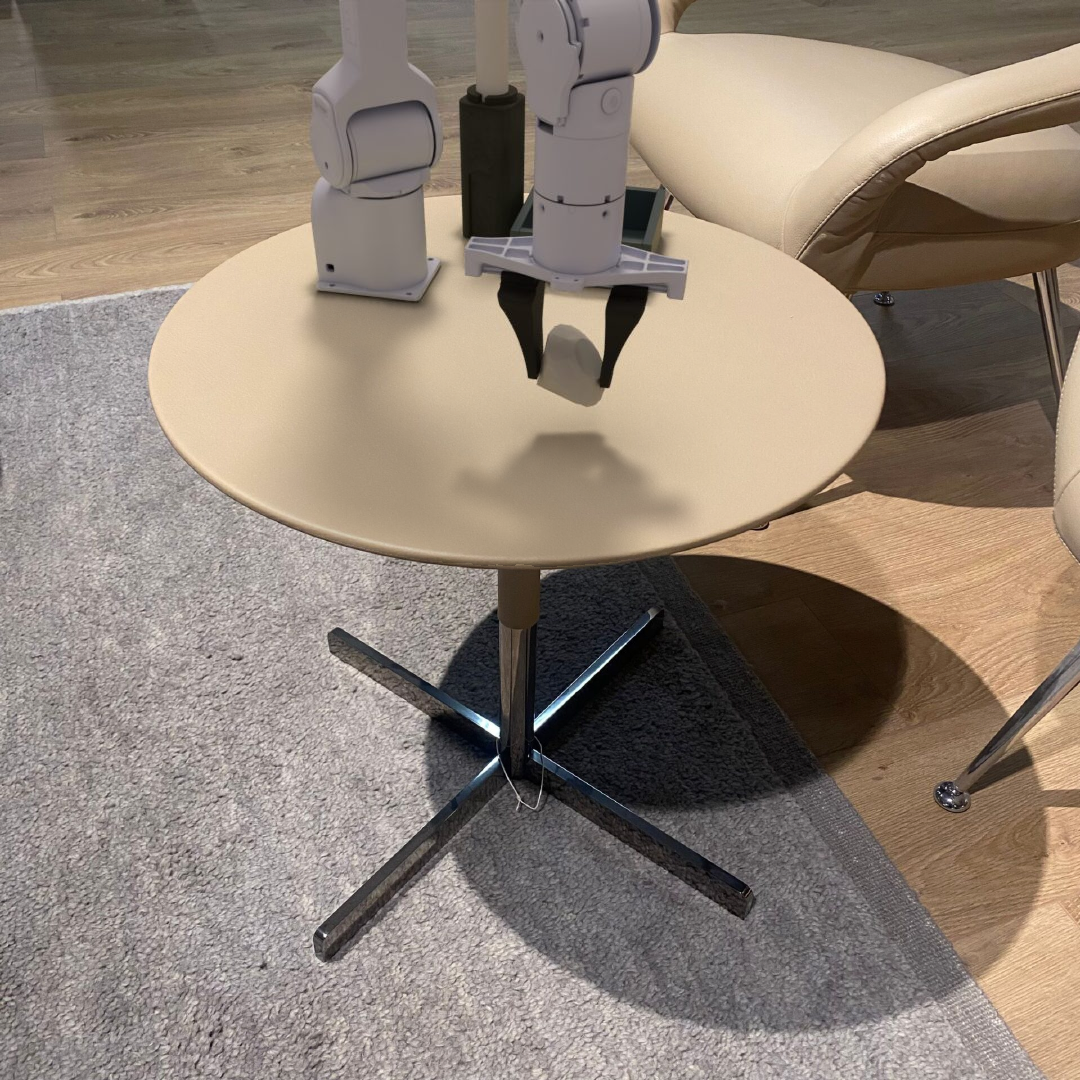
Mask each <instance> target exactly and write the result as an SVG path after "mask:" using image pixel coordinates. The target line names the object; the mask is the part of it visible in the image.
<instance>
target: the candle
mask: <svg viewBox="0 0 1080 1080" xmlns="http://www.w3.org/2000/svg"><path fill="white" fill-rule="evenodd" d="M509 11H510V0H474V45H475V46H474V47H475V51H474V52H475V53H474V54H475V83H473V84H471V85H469V86H468V87H467V88H466V94H465V95H463V96H462V97H461V98H459V100H458V114H459V115H458V117H459V118H458V119H459V150H460V151H459V152H460V153H459V154H460V185H461V187H460V189H461V220H462V221H461V223H462V227H461V228H462V236H463V237H464V238H465V239H468V240H470V238H471V237H482V238H505V237H510V230H511V228H512V226H513V224H514V222H515V220H516V218H517V216H518V215H519V213H520V211H521V209H522V207H523V205H524V203H525V158H526V157H525V156H526V155H525V150H526V149H525V148H526V146H525V143H526V95H525V94H523V93H521V92H519V91H518V88H517V87H516V86H514V85H513V84H512V85H511V84H510V83H509V75H510V74H509V67H510V66H509V64H510V63H509V62H510V61H509V59H510V58H509V55H510V54H509V52H510V50H509V47H510V46H509V45H510V43H509V41H510V40H509V39H510V38H509V37H510V36H509V35H510V30H509V28H510V27H509V26H510V23H509V21H510V17H509V16H510V13H509Z"/></svg>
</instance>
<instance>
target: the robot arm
mask: <svg viewBox="0 0 1080 1080" xmlns="http://www.w3.org/2000/svg"><path fill="white" fill-rule="evenodd" d="M513 1H514V3H515V5H516V7H517V9H518V11H519V16H518V20H516V21H515V22H514V26H515V27H514V31H515V32H514V33H515V41H516V47H517V51H518V56H519V59H520V63H521V65H522V68H523V71H524V74H525V82H526V84H525V86H526V89H525V90H526V91H525V92H526V95H525V101H527V103H528V109H529V112H530V113H531V114H533V115H534V157H533V160H534V162H533V163H534V164H533V167H534V168H533V185H534V196H533V236H527V237H505V238H482V237H471V238H470V239H468V242H467V244H466V245H465V247H464V250H463V251H464V253H463V255H464V276H466V277H472V278H480V277H482V276H483V274H488V275H496V276H500V282H499V288H498V290H497V293H496V297H497V303H498V306H499V308H500V309H501V310H502V312H503V314H504V315H505V317H506V318H507V320H508V322H509V324H510V325H511V328H512V330H513V332H514V334H515V336H516V338H517V341H518V344H519V346H520V350H521V353H522V356H523V359H524V364H525V369H526V375H527V379H529V380H530V379H531V380H536V381H538V376H539V373H540V367H541V363H542V358H543V354H544V350H545V348H544V324H543V322H544V321H543V320H544V319H543V318H544V306H545V305H544V303H545V293H546V292H545V291H546V283H549V286H550V288H551V289H552V290H554V291H559V292H568V293H581V292H582V291H583V290H584V288H585V287H589V286H603V287H612V289H610V293H609V295H608V298H607V302H606V305H605V311H604V345H603V346H604V347H603V348H604V349H603V356H602V367H601V373H600V388H605V389H610V388H611V384H612V381H613V377H614V371H615V367H616V364H617V361H618V359H619V357H620V354H621V352H622V350H623V349H624V346H625V345H626V343H627V341H628V339H629V338H630V336H631V334H632V333H633V332H634V330H635V328H636V327H637V325H638V324H639V323H640V321H641V319H642V318H643V315H644V313H645V310H646V307H647V303H648V297H649V294H650V293H655V294H656V293H657V294H666V298H667V299H669V300H676V301H683V300H684V299H685V292H686V287H687V279H688V271H689V265H690V264H689V263H690V260H689V259H685V258H678V257H671V256H667V255H663V254H659V253H657V254H655V253H652V252H648V251H644V250H641V249H637V248H633V247H630V246H626V245H623V244H621V240H622V227H623V215H624V203H625V190H626V186H627V177H628V164H629V151H630V139H631V127H632V118H633V117H632V115H633V104H634V90H635V81H636V80H635V79H636V77H635V75H639V74H641V73H644V71H646V70H647V69H648V68H649V67H650V65H651V64H652V62H653V61H654V59H655V57H656V56H657V52H658V49H659V46H660V41H661V33H662V17H661V10H660V3H659V0H513ZM338 6H339V18H340V19H339V20H340V30H341V32H340V33H341V43H342V44H341V46H342V56H341V58H339V60H338V61H337V62H336V63H335V64H334V65H333V66H332V67H330V69H329V70H328V71H327V72H326V73H325V74H324V75H322V76H321V77H320V78H319V79H318V80H317V82H315V84H314V85H313V86H312V88H311V92H312V96H311V104H312V105H311V108H312V109H311V120H310V124H309V142H310V147H311V152H312V155H313V159H314V162H315V164H316V167H317V169H318V171H319V172H320V175H321V176H320V177H319V179H318V180H317V181H316V183H315V185H314V188H313V191H312V195H311V203H310V221H311V222H310V223H311V230H312V237H313V246H314V254H315V261H316V271H317V277H318V281H317V282H316V284H315V288H316V290H317V291H321V292H330V293H331V292H332V293H337V294H349V295H356V296H366V297H374V298H381V299H383V298H384V299H390V300H400V301H410V302H418V301H420V300H421V299H422V297H423V295H424V293H425V292H426V290H427V288H428V287H429V285H430V283H431V282H432V280H433V279H434V276H435V275H436V274H437V272H438V270H439V268H440V267H441V265H442V259H441V258H440V257H431V256H428V249H427V248H428V247H427V230H426V229H427V228H426V213H425V212H426V211H425V209H426V208H425V193H424V191H425V190H424V184H425V183H428V182H431V178H432V177H431V170H433V169H434V168H436V167H437V166H438V164H439V163H440V160H441V157H442V154H443V151H444V141H445V140H444V130H443V124H442V120H441V117H440V115H439V109H438V102H437V101H438V100H437V93H436V86H435V84H434V83H433V82H432V80H431V79H430V78H429V77H428V76H427V75H426V73H424V72H423V71H422V70H420V69H419V68H418V67H416V66H415V65H414V64H412V63H411V62H409V50H408V24H407V23H408V22H407V0H338ZM546 281H547V282H546Z"/></svg>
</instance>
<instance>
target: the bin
mask: <svg viewBox="0 0 1080 1080" xmlns="http://www.w3.org/2000/svg"><path fill="white" fill-rule="evenodd" d="M666 193H667V189H665V188H664V189H663V188H652V187H641V186H632V185H626V190H625V203H624V215H623V227H622V240H621V244H623V245H626V246H630V247H633V248H637V249H641V250H644V251H648V252H652V253H655V254H658V249H659V246H660V241H661V237H662V231H663V220H664V213H665V203H666ZM533 196H534V184H533V185H532V187H531V189H530V191H529V194H527V197H526V199H525V200H524V205H523V207H522V209H521V211H520V213H519V215H518V216H517V218H516V220H515V222H514V224H513V226H512V228H511V230H510V237H527V236H533ZM545 283H548V282H547V281H546V282H545ZM588 287H590V288H598V289H599V288H600V289H609V290H611V289H612V287H603V286H588Z"/></svg>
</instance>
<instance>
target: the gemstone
mask: <svg viewBox="0 0 1080 1080" xmlns="http://www.w3.org/2000/svg"><path fill="white" fill-rule="evenodd" d="M602 361H603V358H602V356H601V354H600V352H599V350H598V349H597V347H596V346H595V344H594V343H593V341H592V340H591V339H590V338H589V337H588V336H587V335H585V333H583V332H582V331H581V330H580V329H579V328H577V327H575V326H573V325H571V324H565V323H559V324H556V325H554V326H553V328H551V330H550V331H549V332H548V333H547V337H546V341H545V345H544V352H543V358H542V363H541V367H540V373H539V376H538V379H537V380H536V386H538V387H540V388H542V389H544V390H545V391H549V392H551V393H553V394H555V395H556V396H559V397H561V398H563V399H565V400H567V401H569V402H571V403H573V404H576V405H581V406H583V407H585V408H589V407H593V406H595V405H597V404H598V403H599V402H600V401H601V400H602V397H603V395H604V392H605V389H606V388H600V373H601V367H602Z"/></svg>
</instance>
